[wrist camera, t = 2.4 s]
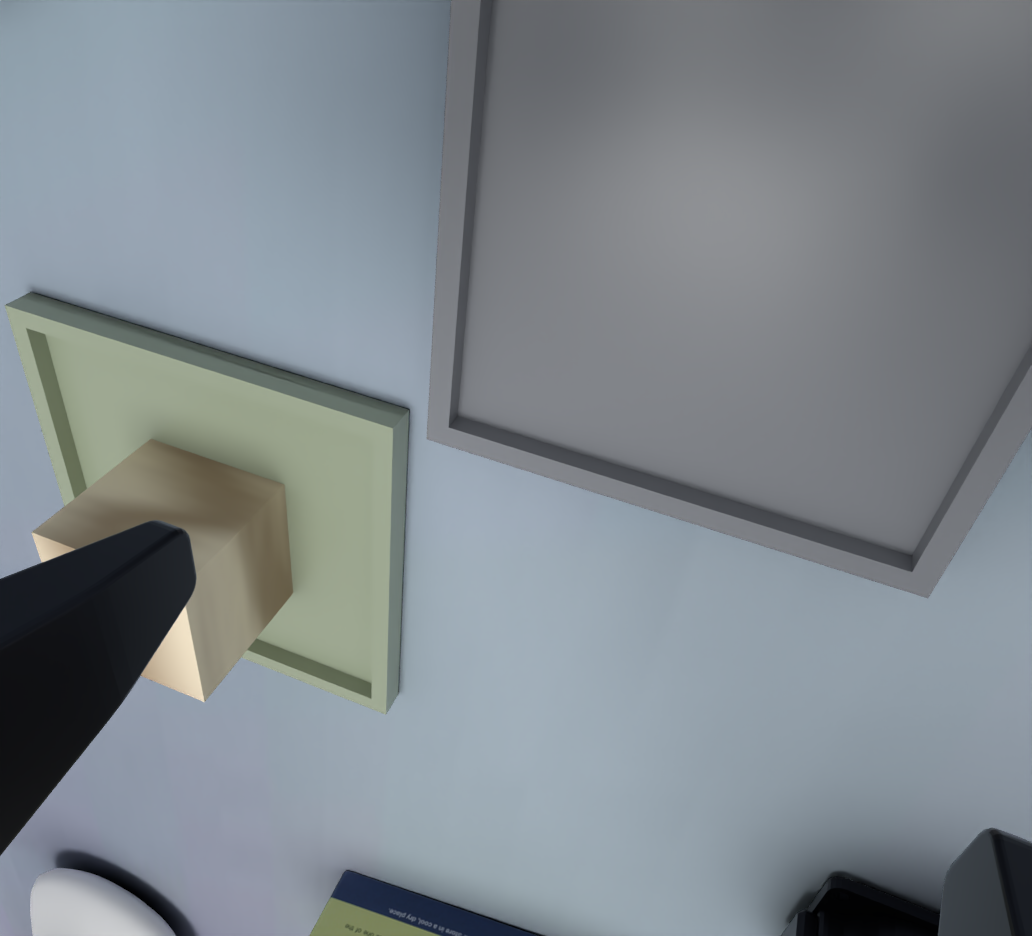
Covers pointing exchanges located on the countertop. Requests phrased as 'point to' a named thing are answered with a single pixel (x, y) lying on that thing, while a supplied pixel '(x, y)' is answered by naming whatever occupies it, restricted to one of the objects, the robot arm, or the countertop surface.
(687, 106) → the charcoal tray
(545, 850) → the countertop surface
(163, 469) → the birch block
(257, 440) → the olive tray
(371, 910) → the protein box
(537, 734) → the countertop surface
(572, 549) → the countertop surface
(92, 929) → the flower in vase
